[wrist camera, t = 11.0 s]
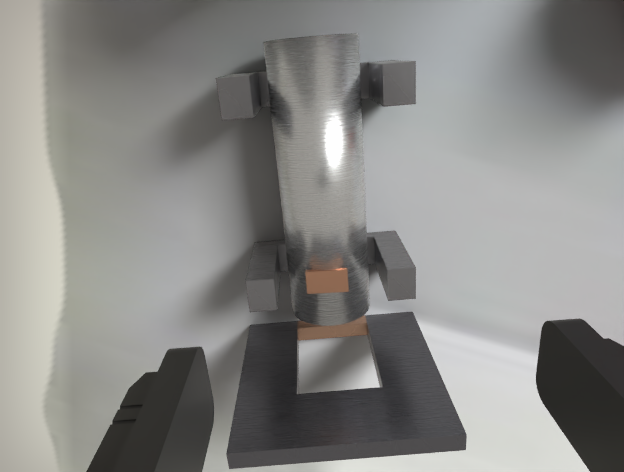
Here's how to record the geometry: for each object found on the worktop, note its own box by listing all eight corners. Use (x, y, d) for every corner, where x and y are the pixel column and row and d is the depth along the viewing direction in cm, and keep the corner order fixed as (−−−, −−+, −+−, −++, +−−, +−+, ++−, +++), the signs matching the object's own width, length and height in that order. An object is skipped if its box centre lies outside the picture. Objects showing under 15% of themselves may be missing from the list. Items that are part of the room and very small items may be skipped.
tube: (269, 43, 27) (256, 41, 22) (356, 35, 27) (361, 31, 22) (295, 288, 33) (289, 328, 28) (367, 285, 33) (372, 325, 28)
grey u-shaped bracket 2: (254, 242, 32) (245, 281, 27) (395, 230, 32) (415, 267, 27) (258, 268, 33) (250, 312, 27) (395, 257, 33) (415, 298, 27)
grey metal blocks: (232, 73, 28) (215, 78, 23) (392, 60, 28) (415, 61, 23) (237, 108, 29) (221, 120, 23) (393, 94, 29) (415, 103, 23)
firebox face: (250, 325, 35) (226, 453, 23) (412, 311, 34) (466, 434, 23) (252, 336, 35) (229, 468, 24) (412, 323, 35) (465, 449, 24)
